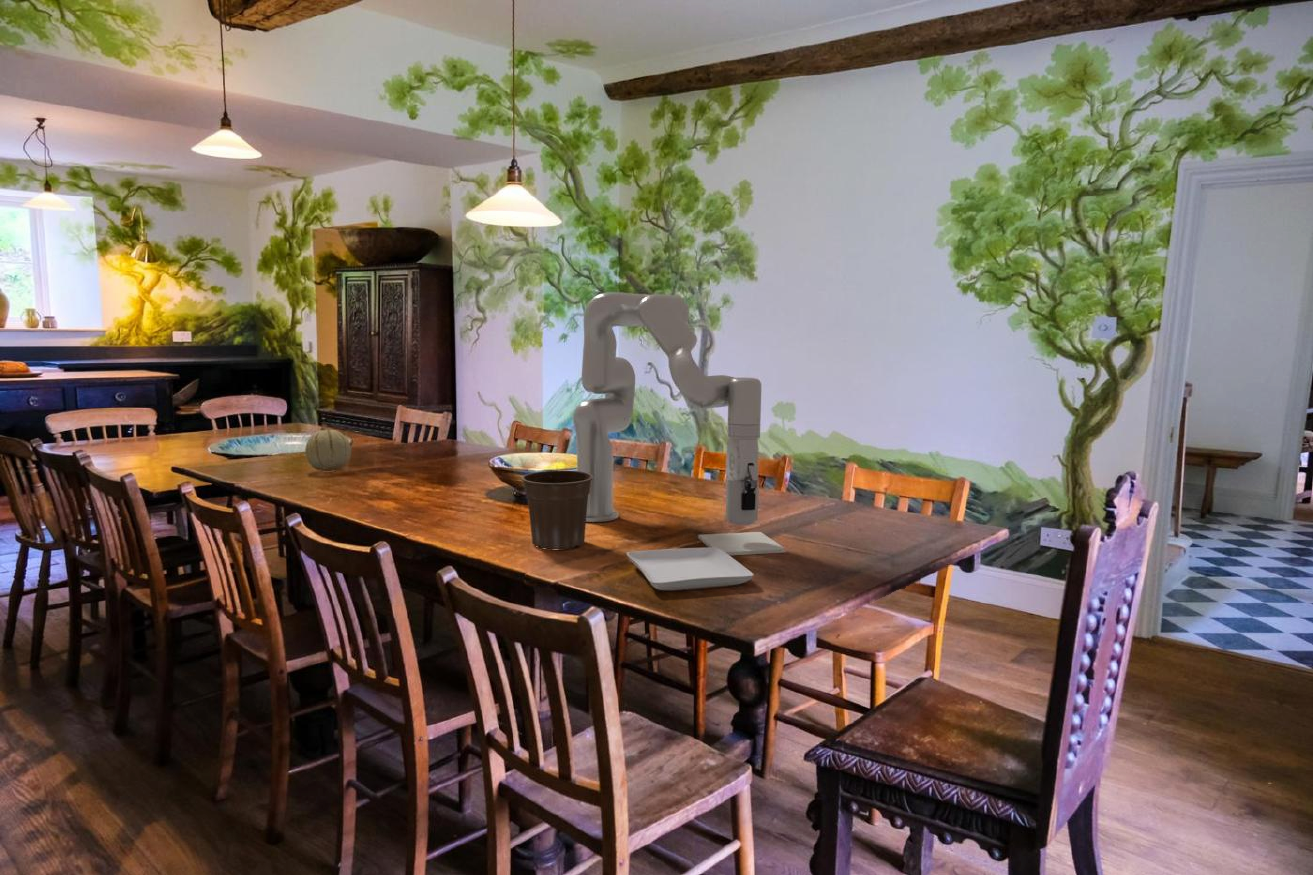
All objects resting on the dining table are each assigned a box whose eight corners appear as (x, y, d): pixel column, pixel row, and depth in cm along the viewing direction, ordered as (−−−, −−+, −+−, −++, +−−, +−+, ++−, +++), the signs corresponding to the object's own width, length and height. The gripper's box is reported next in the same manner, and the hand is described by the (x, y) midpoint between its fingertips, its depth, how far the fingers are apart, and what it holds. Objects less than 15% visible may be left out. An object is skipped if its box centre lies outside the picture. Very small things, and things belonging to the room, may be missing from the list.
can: (757, 518, 193) (758, 469, 192) (758, 526, 186) (759, 474, 184) (725, 517, 194) (726, 468, 192) (725, 525, 187) (726, 473, 185)
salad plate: (756, 590, 159) (756, 573, 159) (652, 598, 153) (652, 581, 153) (717, 560, 179) (718, 545, 179) (624, 567, 173) (624, 551, 173)
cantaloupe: (330, 476, 268) (328, 432, 266) (296, 473, 273) (294, 429, 271) (361, 470, 282) (360, 427, 280) (328, 466, 287) (326, 424, 285)
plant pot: (526, 555, 179) (525, 483, 177) (518, 537, 195) (518, 471, 193) (598, 551, 184) (599, 481, 182) (585, 533, 199) (585, 469, 197)
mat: (718, 556, 181) (719, 552, 181) (698, 538, 196) (698, 534, 196) (785, 552, 185) (785, 548, 185) (760, 534, 200) (760, 531, 200)
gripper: (716, 427, 195) (715, 499, 197) (741, 436, 178) (739, 515, 180) (746, 426, 196) (744, 498, 199) (773, 435, 180) (771, 513, 182)
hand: (742, 505), depth 189 cm, fingers closed on can, 7 cm apart
